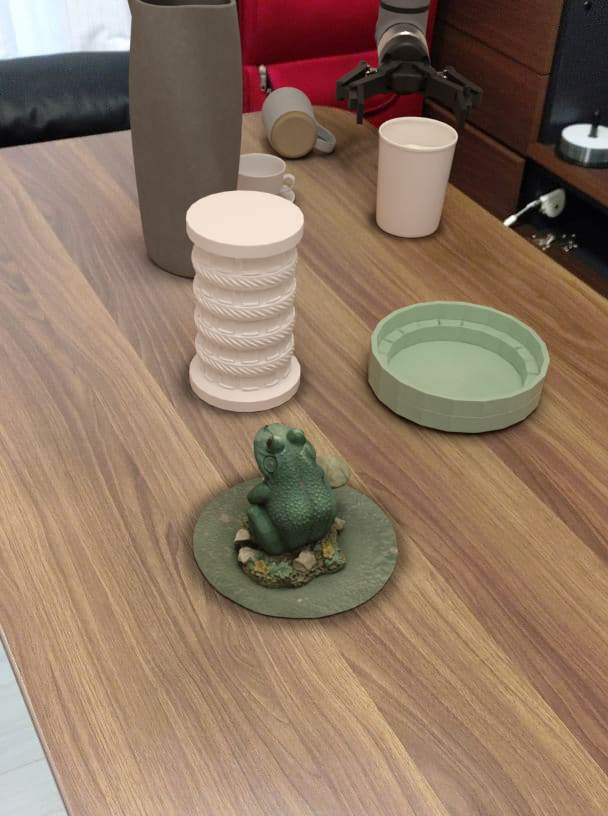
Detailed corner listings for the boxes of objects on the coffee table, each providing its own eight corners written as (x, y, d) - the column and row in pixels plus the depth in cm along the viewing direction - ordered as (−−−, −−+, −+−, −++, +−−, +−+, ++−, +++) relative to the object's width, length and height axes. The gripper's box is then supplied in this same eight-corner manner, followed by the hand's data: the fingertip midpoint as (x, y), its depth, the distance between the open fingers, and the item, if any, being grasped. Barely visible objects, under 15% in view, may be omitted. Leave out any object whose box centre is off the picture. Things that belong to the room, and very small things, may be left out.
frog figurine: (334, 454, 94) (342, 352, 86) (437, 577, 83) (458, 473, 75) (161, 508, 87) (152, 403, 79) (248, 649, 76) (248, 544, 68)
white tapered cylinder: (359, 230, 127) (367, 138, 118) (384, 200, 133) (393, 111, 125) (431, 247, 124) (444, 154, 116) (453, 216, 131) (467, 125, 122)
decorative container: (193, 415, 97) (186, 249, 85) (185, 350, 105) (177, 190, 93) (308, 408, 99) (317, 245, 86) (291, 345, 107) (298, 187, 94)
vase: (244, 287, 115) (243, 10, 94) (139, 287, 114) (115, 7, 93) (241, 237, 124) (241, -26, 103) (144, 237, 123) (124, -30, 102)
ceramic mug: (269, 162, 140) (271, 107, 135) (260, 139, 146) (261, 85, 141) (340, 160, 142) (345, 107, 137) (329, 138, 148) (333, 85, 142)
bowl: (526, 340, 110) (535, 305, 107) (552, 441, 97) (562, 405, 94) (365, 332, 109) (369, 296, 106) (369, 432, 96) (374, 395, 93)
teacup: (212, 209, 129) (211, 175, 126) (232, 178, 136) (232, 144, 133) (285, 220, 128) (286, 185, 125) (302, 188, 135) (303, 154, 132)
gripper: (483, 91, 147) (499, 150, 132) (318, 82, 147) (316, 139, 132) (492, 38, 142) (510, 92, 127) (321, 28, 141) (319, 82, 126)
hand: (411, 117), depth 129 cm, fingers open, 13 cm apart
